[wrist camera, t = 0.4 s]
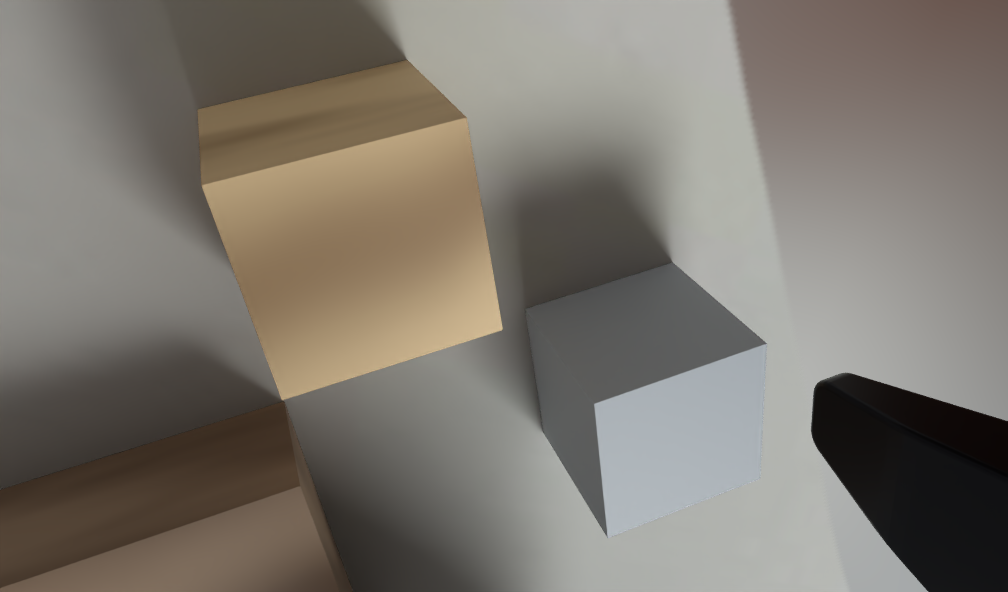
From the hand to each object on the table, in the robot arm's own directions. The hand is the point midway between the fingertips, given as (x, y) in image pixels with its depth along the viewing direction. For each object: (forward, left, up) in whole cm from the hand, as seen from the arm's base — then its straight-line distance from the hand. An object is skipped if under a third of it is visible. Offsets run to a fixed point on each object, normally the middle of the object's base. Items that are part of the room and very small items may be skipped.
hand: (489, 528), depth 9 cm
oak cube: (0, 0, -13) cm, 13 cm away
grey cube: (-8, -7, -13) cm, 17 cm away
